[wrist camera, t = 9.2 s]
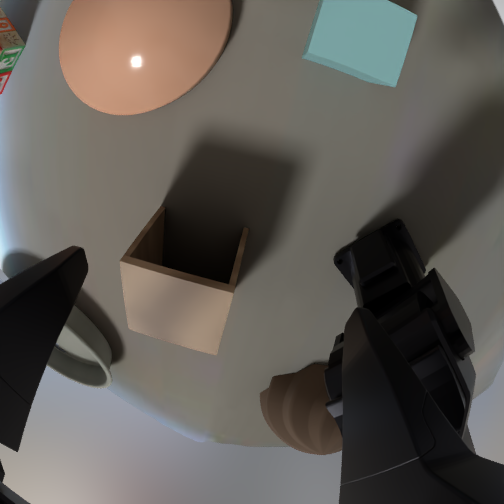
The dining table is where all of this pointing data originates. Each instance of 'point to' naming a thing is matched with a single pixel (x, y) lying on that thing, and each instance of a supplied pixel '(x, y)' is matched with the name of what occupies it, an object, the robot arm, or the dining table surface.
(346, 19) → the block
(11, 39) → the stack of blocks
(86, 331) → the cake pan
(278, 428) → the decorative dome
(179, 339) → the brown wooden open box
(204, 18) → the dish
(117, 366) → the dining table surface
